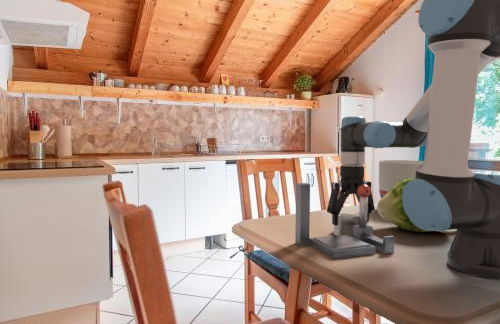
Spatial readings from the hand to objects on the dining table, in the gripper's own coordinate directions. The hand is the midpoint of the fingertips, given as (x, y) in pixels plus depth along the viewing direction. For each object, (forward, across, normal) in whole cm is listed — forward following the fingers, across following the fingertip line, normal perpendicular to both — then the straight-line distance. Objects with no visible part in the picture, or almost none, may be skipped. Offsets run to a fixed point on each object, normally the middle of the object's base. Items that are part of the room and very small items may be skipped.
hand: (350, 233), depth 116 cm
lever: (-3, +2, +8) cm, 9 cm away
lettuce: (+1, -23, +3) cm, 23 cm away
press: (0, +11, +11) cm, 15 cm away
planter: (+1, -45, -25) cm, 51 cm away
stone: (+1, 0, 0) cm, 1 cm away
